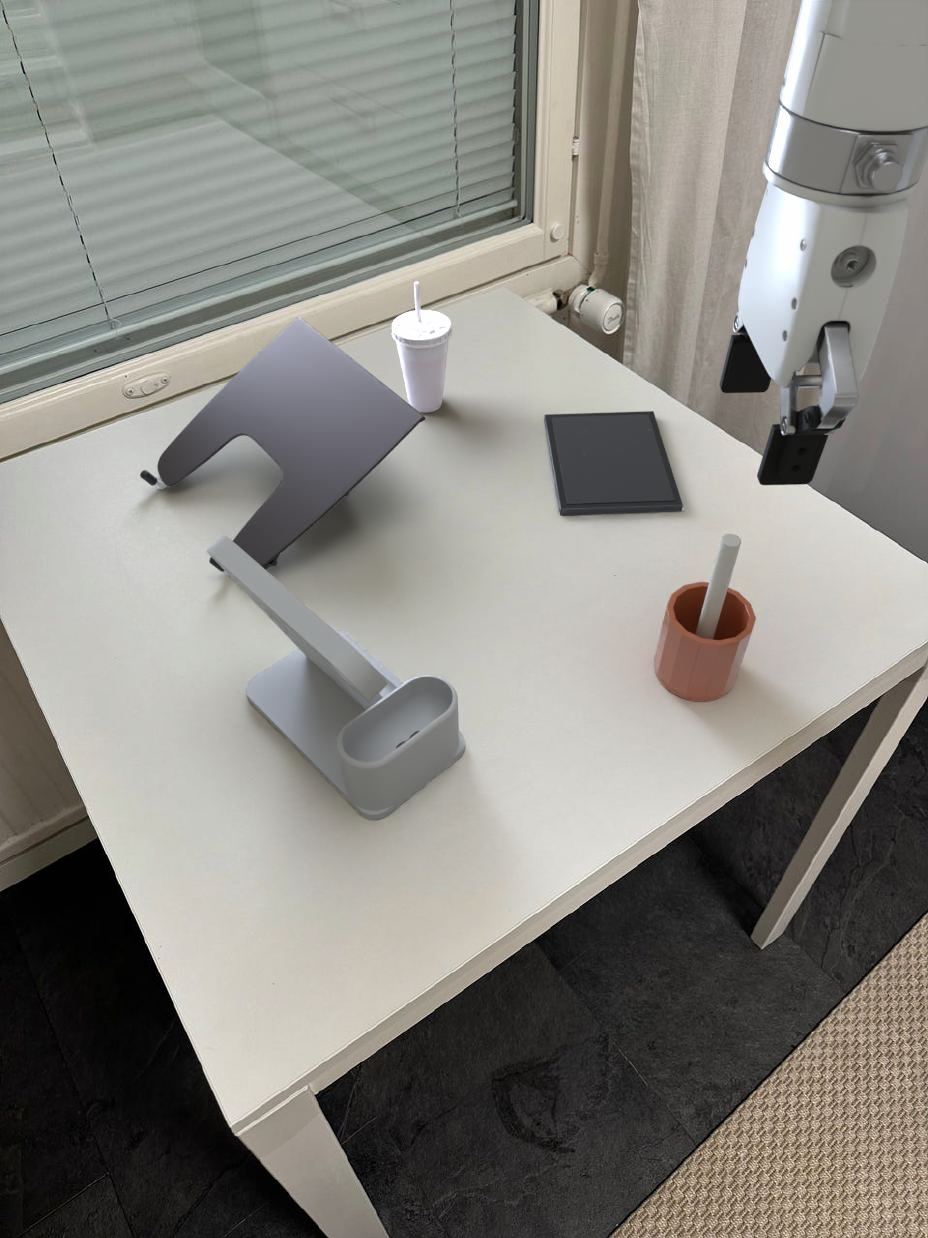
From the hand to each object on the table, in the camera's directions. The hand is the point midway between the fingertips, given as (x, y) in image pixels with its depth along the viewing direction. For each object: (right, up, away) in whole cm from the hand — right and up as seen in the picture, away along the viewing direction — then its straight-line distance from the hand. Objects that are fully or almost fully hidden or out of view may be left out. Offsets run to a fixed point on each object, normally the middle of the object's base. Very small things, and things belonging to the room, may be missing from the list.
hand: (761, 433), depth 57 cm
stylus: (0, -16, +17) cm, 23 cm away
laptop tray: (-38, +1, +34) cm, 51 cm away
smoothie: (-23, +12, +44) cm, 51 cm away
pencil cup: (0, -16, +17) cm, 23 cm away
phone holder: (-28, -20, +14) cm, 37 cm away
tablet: (-4, +4, +36) cm, 37 cm away
